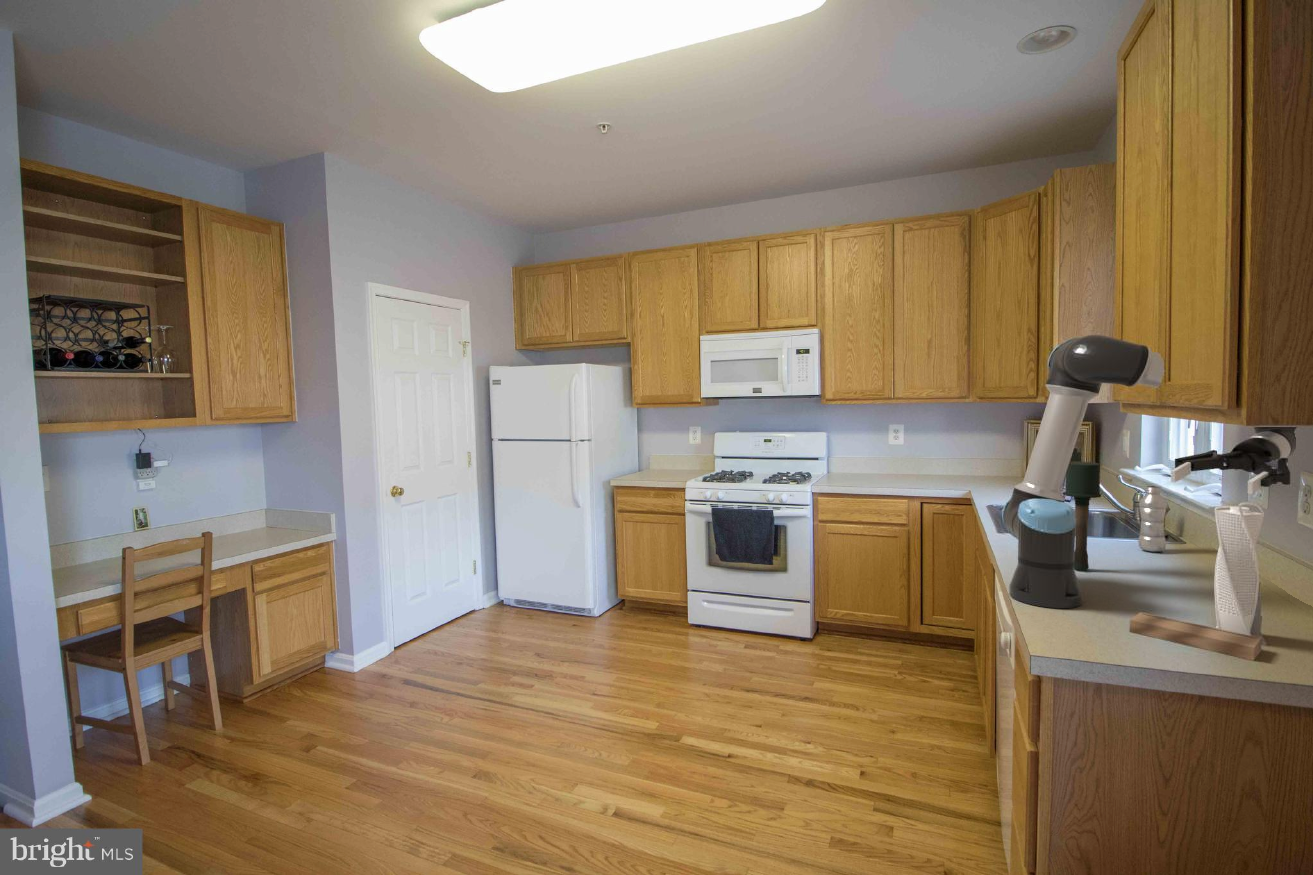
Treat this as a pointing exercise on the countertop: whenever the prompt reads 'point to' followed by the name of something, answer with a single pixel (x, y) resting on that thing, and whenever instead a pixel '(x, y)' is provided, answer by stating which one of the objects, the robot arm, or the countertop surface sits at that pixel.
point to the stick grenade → (1082, 503)
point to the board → (1197, 635)
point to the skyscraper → (1238, 571)
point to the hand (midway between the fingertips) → (1209, 482)
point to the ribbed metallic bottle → (1152, 520)
